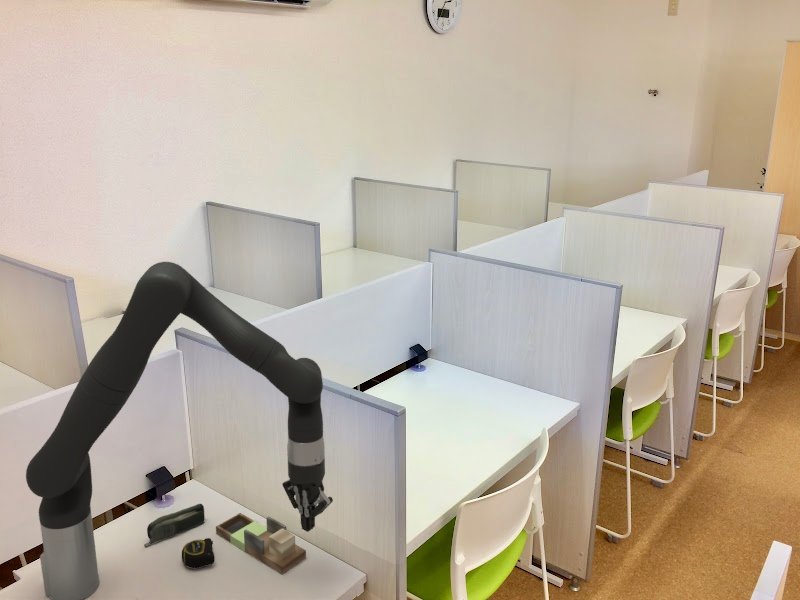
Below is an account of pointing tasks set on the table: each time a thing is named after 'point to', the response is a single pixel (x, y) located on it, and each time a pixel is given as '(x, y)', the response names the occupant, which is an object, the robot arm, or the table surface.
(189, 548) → the tape measure
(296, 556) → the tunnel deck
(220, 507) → the table surface
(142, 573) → the table surface
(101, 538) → the table surface
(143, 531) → the table surface
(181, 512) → the green pencil case
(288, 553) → the block
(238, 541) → the pad
